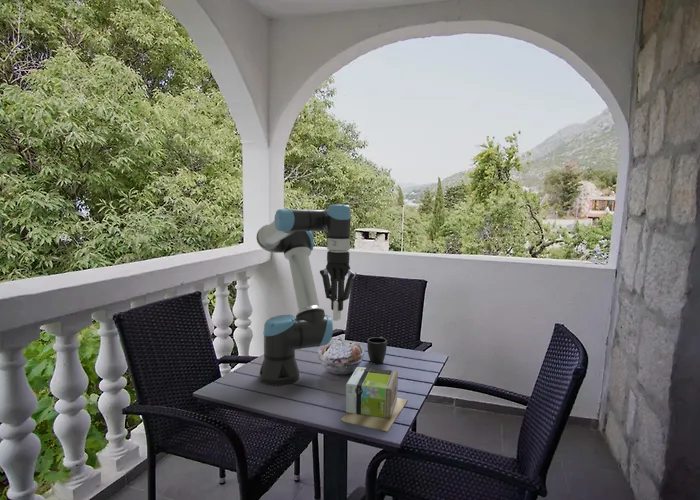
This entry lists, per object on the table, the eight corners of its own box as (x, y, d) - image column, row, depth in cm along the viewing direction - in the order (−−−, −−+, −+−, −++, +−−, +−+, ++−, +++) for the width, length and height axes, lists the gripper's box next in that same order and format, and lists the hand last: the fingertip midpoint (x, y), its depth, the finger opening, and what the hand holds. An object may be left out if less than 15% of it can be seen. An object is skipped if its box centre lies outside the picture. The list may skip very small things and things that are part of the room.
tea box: (345, 413, 132) (391, 419, 128) (345, 383, 131) (391, 388, 127) (356, 393, 147) (398, 398, 143) (356, 365, 146) (398, 370, 142)
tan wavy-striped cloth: (340, 420, 128) (340, 419, 128) (366, 392, 148) (366, 391, 148) (387, 431, 122) (387, 430, 122) (407, 400, 142) (407, 399, 142)
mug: (391, 357, 184) (391, 336, 183) (382, 366, 173) (383, 344, 172) (373, 354, 187) (373, 333, 186) (364, 363, 176) (364, 341, 175)
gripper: (315, 250, 139) (314, 319, 141) (351, 253, 133) (349, 325, 136) (326, 248, 145) (325, 314, 148) (360, 251, 140) (358, 319, 143)
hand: (336, 319), depth 142 cm, fingers closed
